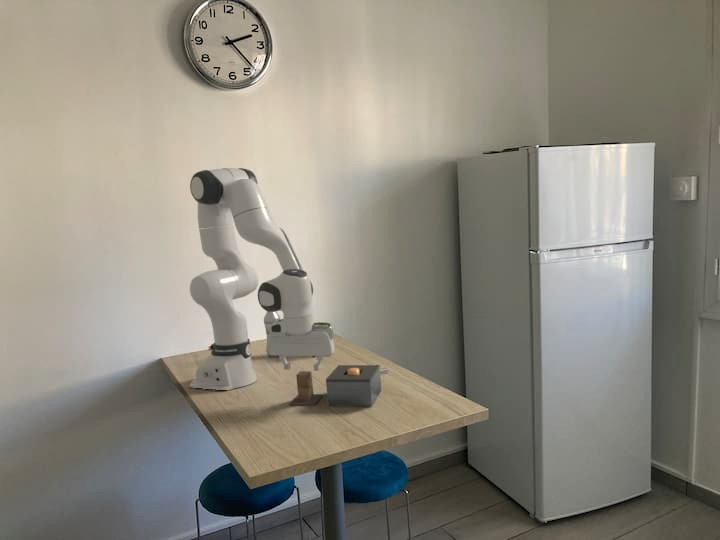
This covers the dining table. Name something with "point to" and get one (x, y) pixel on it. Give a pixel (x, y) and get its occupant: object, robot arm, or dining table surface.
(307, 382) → the wood grain block
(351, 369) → the egg
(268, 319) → the silver metal bottle
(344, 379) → the box
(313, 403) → the pad
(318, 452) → the dining table surface
